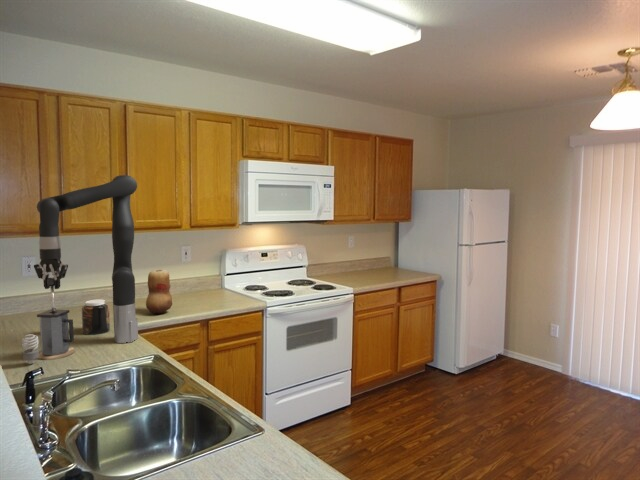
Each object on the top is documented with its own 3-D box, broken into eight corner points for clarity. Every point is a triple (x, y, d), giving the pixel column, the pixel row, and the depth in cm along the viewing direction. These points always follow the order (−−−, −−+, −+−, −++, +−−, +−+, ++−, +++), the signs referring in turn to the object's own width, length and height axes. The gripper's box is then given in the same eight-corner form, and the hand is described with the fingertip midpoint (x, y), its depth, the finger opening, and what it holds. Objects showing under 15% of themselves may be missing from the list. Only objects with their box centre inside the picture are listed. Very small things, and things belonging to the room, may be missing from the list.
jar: (95, 336, 215) (94, 305, 214) (77, 333, 219) (75, 302, 218) (115, 329, 226) (113, 299, 225) (96, 326, 230) (95, 297, 229)
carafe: (80, 348, 195) (78, 309, 194) (66, 356, 186) (64, 315, 184) (52, 347, 196) (50, 309, 194) (36, 355, 187) (34, 315, 185)
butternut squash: (149, 317, 248) (148, 272, 246) (144, 312, 259) (142, 268, 257) (175, 314, 256) (174, 270, 253) (169, 309, 267) (167, 266, 264)
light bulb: (19, 365, 178) (17, 335, 177) (33, 360, 183) (31, 331, 182) (29, 367, 176) (28, 337, 175) (43, 362, 181) (41, 333, 180)
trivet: (81, 348, 197) (81, 347, 197) (60, 360, 184) (60, 358, 184) (50, 347, 199) (50, 346, 198) (27, 359, 185) (27, 357, 185)
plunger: (67, 323, 193) (64, 276, 191) (56, 328, 186) (54, 279, 184) (51, 323, 194) (49, 276, 192) (40, 327, 187) (38, 279, 185)
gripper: (72, 246, 190) (74, 287, 192) (39, 246, 191) (42, 286, 193) (60, 248, 182) (62, 290, 184) (27, 248, 184) (29, 290, 185)
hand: (52, 288), depth 188 cm, fingers closed on plunger, 3 cm apart
